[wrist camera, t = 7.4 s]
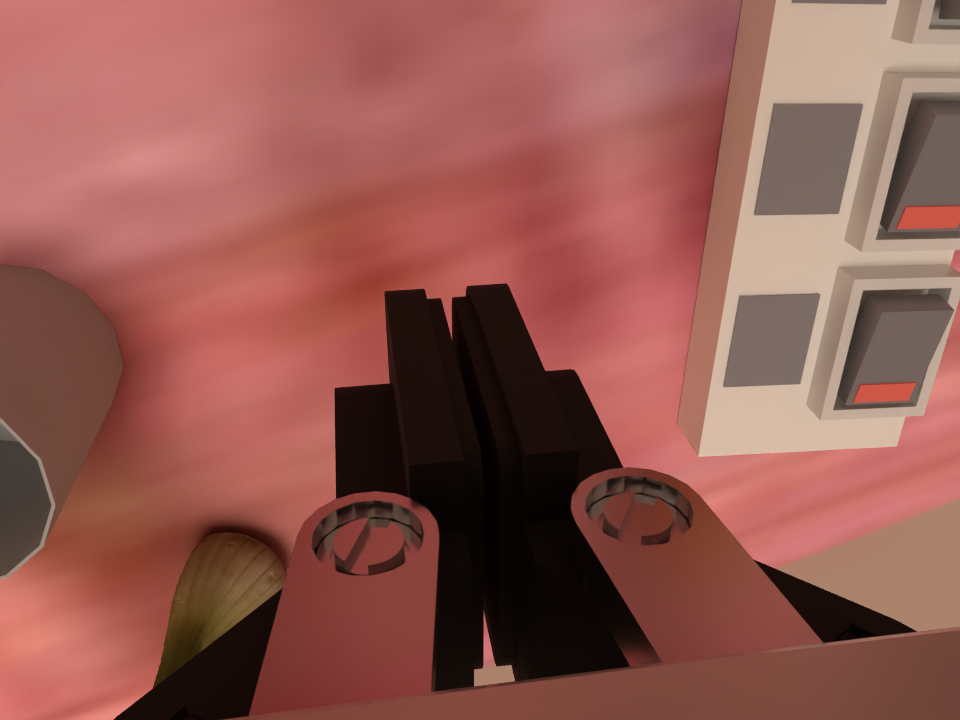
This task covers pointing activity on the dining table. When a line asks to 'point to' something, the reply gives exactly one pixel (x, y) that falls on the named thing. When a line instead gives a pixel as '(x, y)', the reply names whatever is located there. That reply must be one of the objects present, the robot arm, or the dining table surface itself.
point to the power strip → (812, 222)
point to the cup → (47, 401)
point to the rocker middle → (927, 173)
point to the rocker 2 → (949, 9)
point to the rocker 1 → (892, 348)
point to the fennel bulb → (217, 594)
